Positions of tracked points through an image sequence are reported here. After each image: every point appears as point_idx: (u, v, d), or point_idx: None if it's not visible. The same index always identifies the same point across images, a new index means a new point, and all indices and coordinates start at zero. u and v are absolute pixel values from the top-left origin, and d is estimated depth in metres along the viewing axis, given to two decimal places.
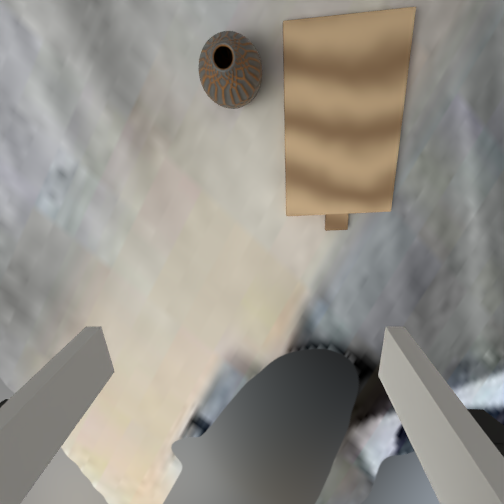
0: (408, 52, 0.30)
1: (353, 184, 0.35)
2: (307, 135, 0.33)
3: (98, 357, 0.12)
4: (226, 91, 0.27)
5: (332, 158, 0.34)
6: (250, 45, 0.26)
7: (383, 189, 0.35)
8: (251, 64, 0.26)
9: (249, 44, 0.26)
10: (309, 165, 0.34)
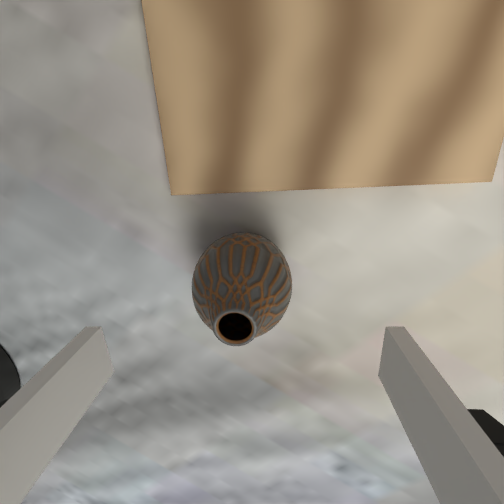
0: None
1: (461, 23, 0.15)
2: (341, 145, 0.17)
3: (98, 357, 0.12)
4: (278, 309, 0.16)
5: (392, 86, 0.16)
6: (210, 264, 0.16)
7: None
8: (239, 268, 0.15)
9: (209, 266, 0.16)
10: (397, 137, 0.17)
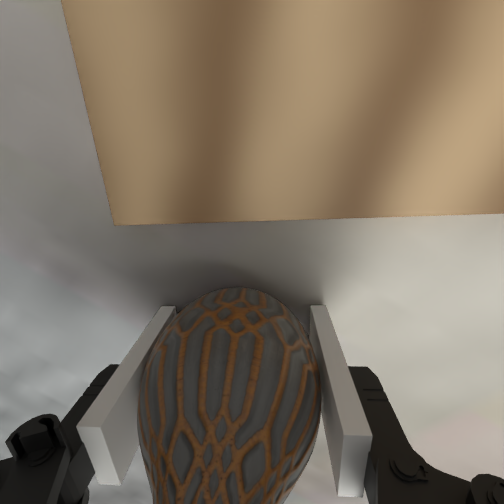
0: None
1: None
2: (414, 140, 0.09)
3: None
4: (300, 470, 0.08)
5: None
6: (165, 377, 0.08)
7: None
8: (220, 396, 0.07)
9: (163, 381, 0.08)
10: None
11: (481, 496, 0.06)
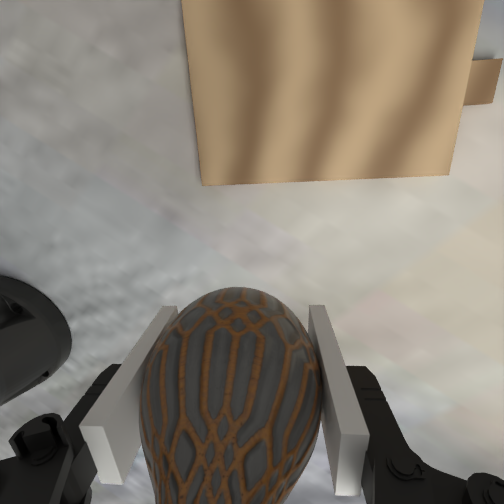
0: None
1: (419, 58, 0.20)
2: (332, 147, 0.23)
3: None
4: (301, 469, 0.08)
5: (370, 103, 0.22)
6: (167, 376, 0.08)
7: None
8: (222, 395, 0.07)
9: (164, 380, 0.08)
10: (375, 141, 0.23)
11: (477, 495, 0.06)
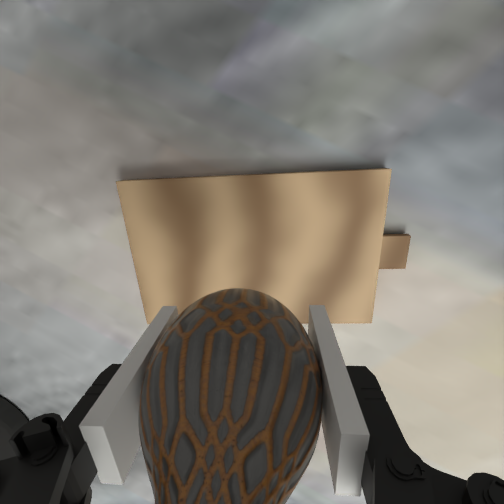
0: (163, 181, 0.22)
1: (335, 235, 0.22)
2: None
3: None
4: (302, 471, 0.08)
5: (295, 267, 0.24)
6: (167, 378, 0.08)
7: (350, 187, 0.21)
8: (222, 397, 0.07)
9: (164, 382, 0.08)
10: (302, 295, 0.25)
11: (477, 494, 0.06)
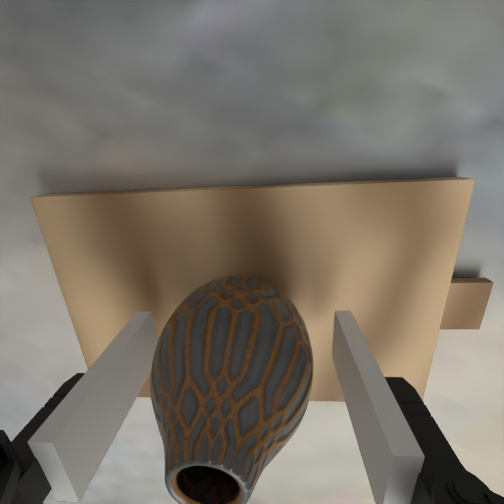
0: (104, 198, 0.14)
1: (374, 281, 0.14)
2: None
3: (149, 339, 0.13)
4: (290, 429, 0.09)
5: (310, 325, 0.16)
6: (175, 345, 0.09)
7: (404, 208, 0.13)
8: (221, 359, 0.08)
9: (173, 349, 0.09)
10: (320, 364, 0.17)
11: None
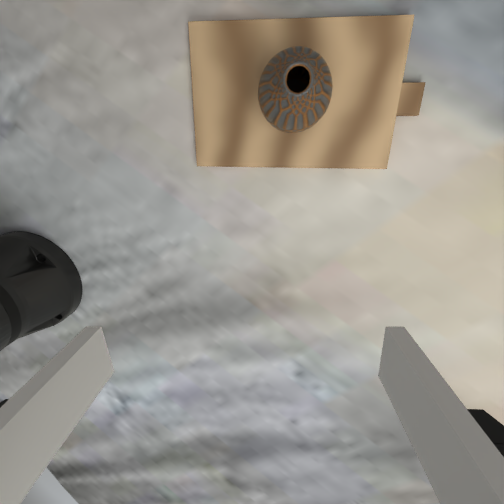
0: (227, 22, 0.27)
1: (363, 78, 0.27)
2: (298, 141, 0.30)
3: (98, 357, 0.12)
4: (324, 88, 0.22)
5: (327, 110, 0.29)
6: (278, 54, 0.22)
7: (379, 32, 0.26)
8: (300, 50, 0.22)
9: (277, 55, 0.22)
10: (330, 139, 0.30)
11: None
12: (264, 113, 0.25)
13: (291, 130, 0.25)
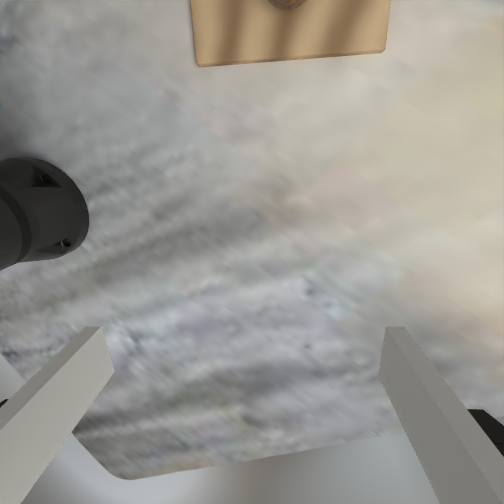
0: None
1: None
2: (296, 27, 0.30)
3: (98, 357, 0.12)
4: None
5: None
6: None
7: None
8: None
9: None
10: (328, 21, 0.30)
11: None
12: None
13: None
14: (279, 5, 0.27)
